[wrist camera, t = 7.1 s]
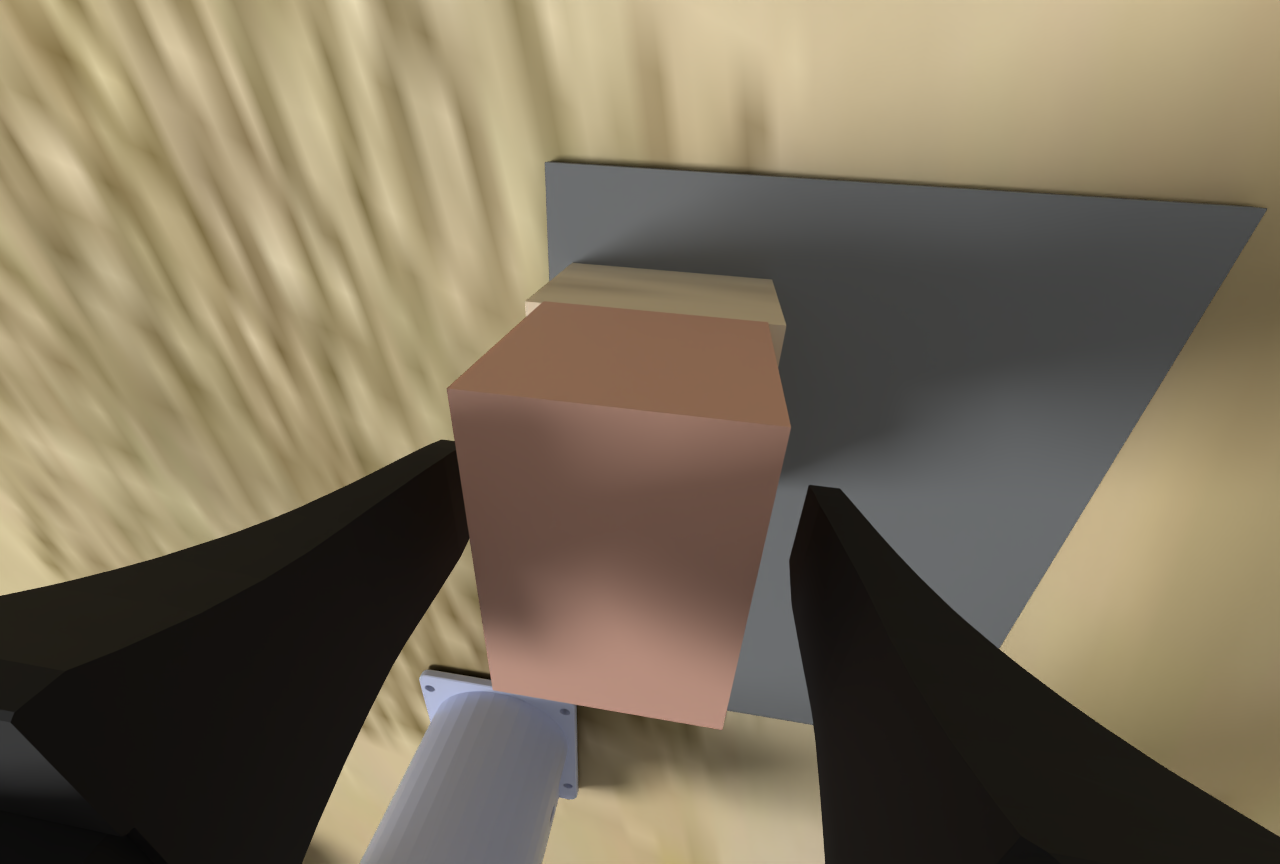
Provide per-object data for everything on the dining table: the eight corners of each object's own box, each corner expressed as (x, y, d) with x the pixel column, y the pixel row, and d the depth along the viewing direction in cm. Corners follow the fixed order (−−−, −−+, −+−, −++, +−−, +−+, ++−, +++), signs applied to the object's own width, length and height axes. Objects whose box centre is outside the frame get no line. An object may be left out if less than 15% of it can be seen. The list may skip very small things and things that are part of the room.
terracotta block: (723, 568, 14) (722, 730, 10) (554, 544, 15) (492, 690, 11) (768, 321, 11) (790, 427, 7) (543, 301, 11) (446, 388, 7)
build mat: (936, 737, 23) (939, 746, 23) (567, 675, 25) (565, 683, 25) (1252, 206, 12) (1267, 208, 12) (549, 161, 14) (544, 162, 14)
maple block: (735, 486, 18) (737, 571, 14) (575, 466, 18) (540, 543, 15) (771, 279, 14) (786, 325, 11) (572, 262, 15) (524, 301, 11)
